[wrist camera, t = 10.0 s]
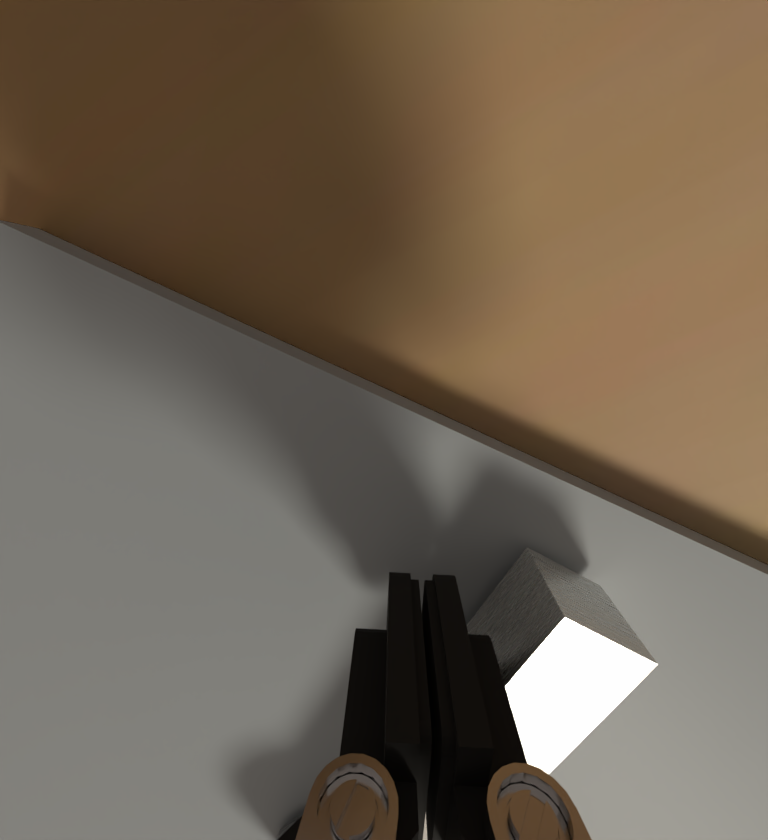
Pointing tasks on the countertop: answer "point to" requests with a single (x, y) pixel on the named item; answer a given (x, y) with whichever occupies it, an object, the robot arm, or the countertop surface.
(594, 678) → the swing bar
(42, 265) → the latch plate
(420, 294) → the countertop surface
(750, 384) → the countertop surface
